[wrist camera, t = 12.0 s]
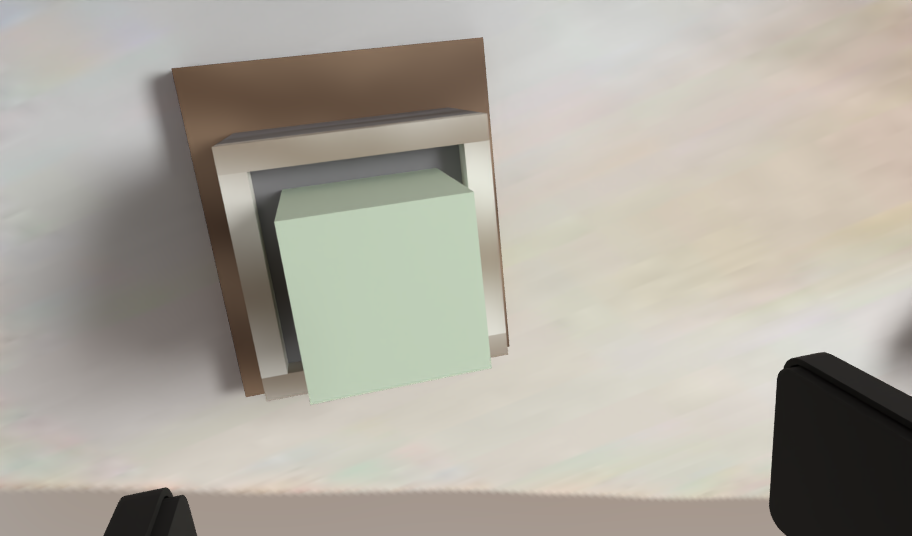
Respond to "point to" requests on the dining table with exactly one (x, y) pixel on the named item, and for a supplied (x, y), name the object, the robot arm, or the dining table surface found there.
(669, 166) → the dining table surface
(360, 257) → the sage block
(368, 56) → the pillar base
